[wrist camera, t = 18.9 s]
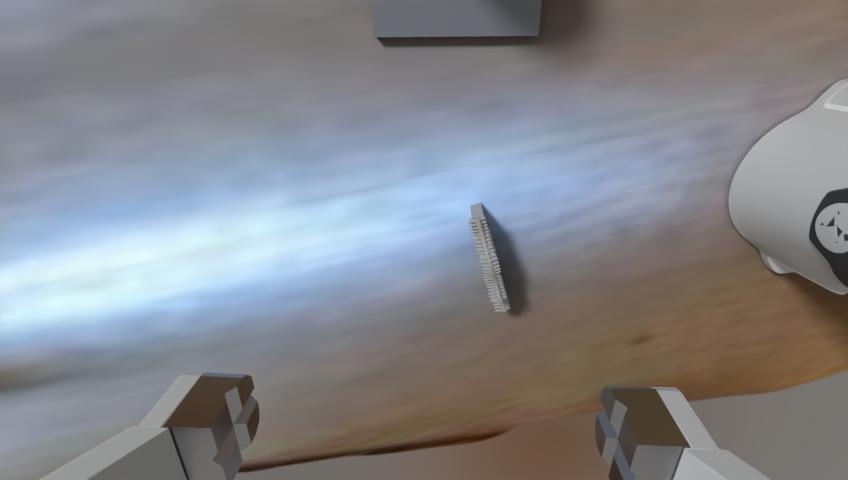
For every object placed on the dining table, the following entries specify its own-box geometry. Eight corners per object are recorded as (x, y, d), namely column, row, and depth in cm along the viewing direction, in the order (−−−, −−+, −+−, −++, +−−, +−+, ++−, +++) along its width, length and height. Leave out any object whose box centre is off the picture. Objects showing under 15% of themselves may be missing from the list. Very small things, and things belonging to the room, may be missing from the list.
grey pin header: (508, 295, 48) (515, 326, 43) (492, 298, 49) (498, 330, 43) (482, 198, 44) (487, 220, 38) (465, 203, 44) (467, 225, 39)
